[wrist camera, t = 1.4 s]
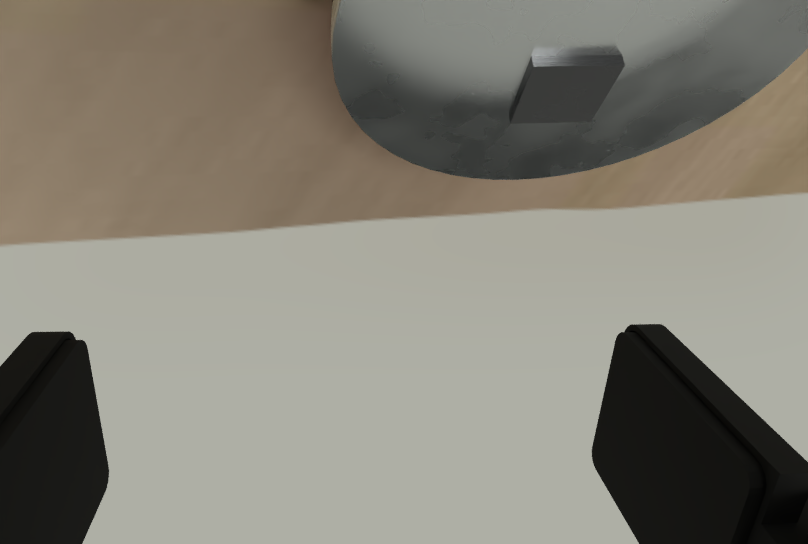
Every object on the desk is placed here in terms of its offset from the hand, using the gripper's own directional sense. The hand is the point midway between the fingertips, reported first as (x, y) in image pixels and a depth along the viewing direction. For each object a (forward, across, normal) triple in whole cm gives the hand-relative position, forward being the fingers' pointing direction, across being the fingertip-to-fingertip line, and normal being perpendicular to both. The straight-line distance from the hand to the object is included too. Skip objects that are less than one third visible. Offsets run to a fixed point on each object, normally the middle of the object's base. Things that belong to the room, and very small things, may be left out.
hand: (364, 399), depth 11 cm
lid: (+16, -9, -6) cm, 19 cm away
